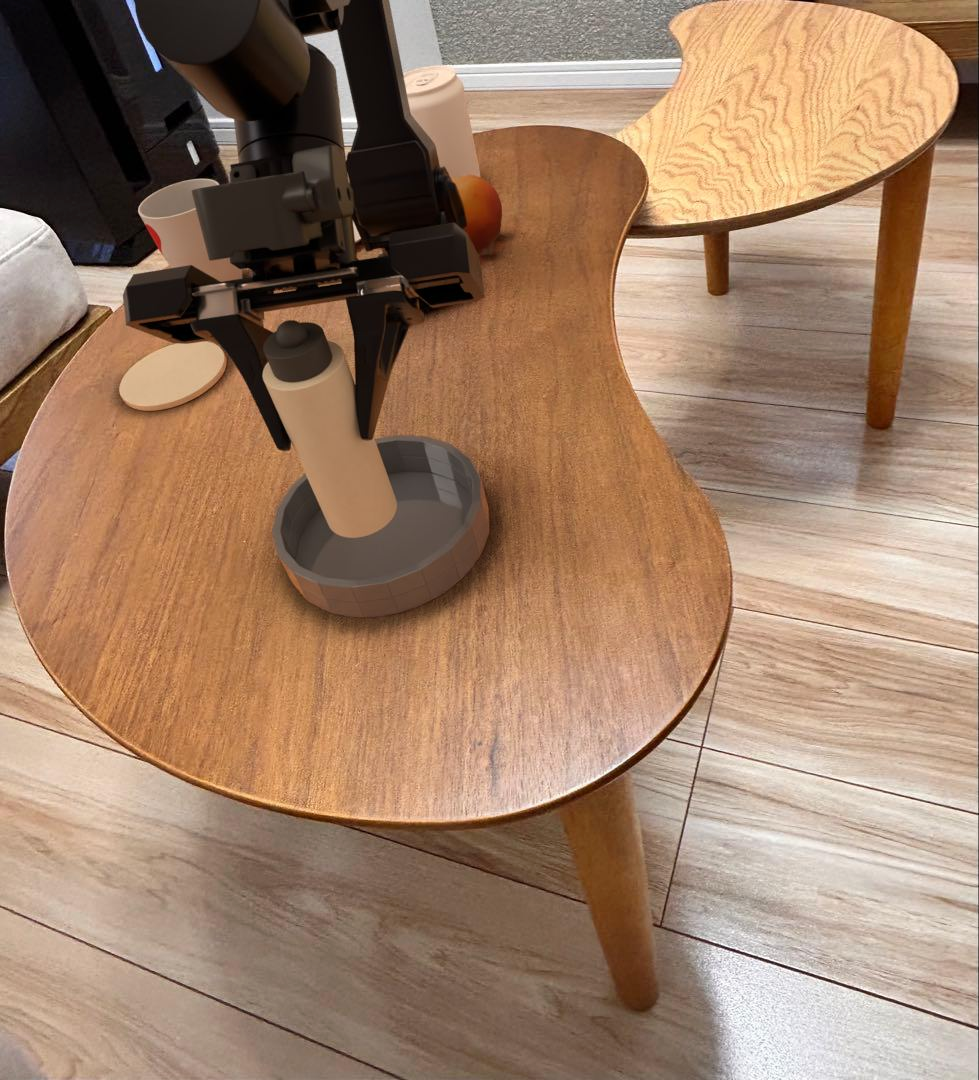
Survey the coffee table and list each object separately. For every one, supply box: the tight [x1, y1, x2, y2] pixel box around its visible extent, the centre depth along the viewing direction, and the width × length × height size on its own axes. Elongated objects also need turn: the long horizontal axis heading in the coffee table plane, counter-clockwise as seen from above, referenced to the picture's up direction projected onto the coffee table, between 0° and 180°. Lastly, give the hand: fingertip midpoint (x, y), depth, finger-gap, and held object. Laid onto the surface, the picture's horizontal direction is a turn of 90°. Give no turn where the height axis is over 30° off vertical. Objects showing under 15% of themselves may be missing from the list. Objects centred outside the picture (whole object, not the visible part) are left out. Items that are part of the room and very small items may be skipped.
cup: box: [137, 178, 243, 282], centre depth 87 cm, size 8×8×10 cm
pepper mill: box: [263, 319, 397, 538], centre depth 48 cm, size 4×4×14 cm
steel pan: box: [271, 434, 490, 619], centre depth 59 cm, size 14×14×4 cm
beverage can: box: [403, 65, 482, 179], centre depth 93 cm, size 8×8×12 cm
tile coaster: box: [118, 341, 228, 412], centre depth 80 cm, size 10×10×1 cm
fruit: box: [452, 175, 507, 257], centre depth 85 cm, size 8×8×8 cm
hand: (324, 445), depth 47 cm, fingers closed on pepper mill, 4 cm apart
